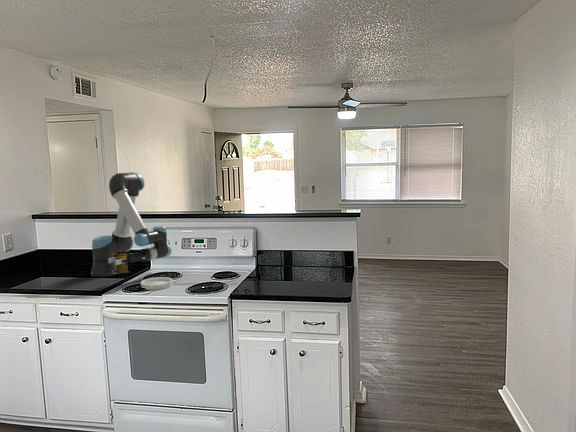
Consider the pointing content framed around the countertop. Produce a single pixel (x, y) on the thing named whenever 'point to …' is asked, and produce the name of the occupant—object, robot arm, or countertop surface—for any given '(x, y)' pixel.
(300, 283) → the countertop surface
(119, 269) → the condiment
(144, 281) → the white plate
